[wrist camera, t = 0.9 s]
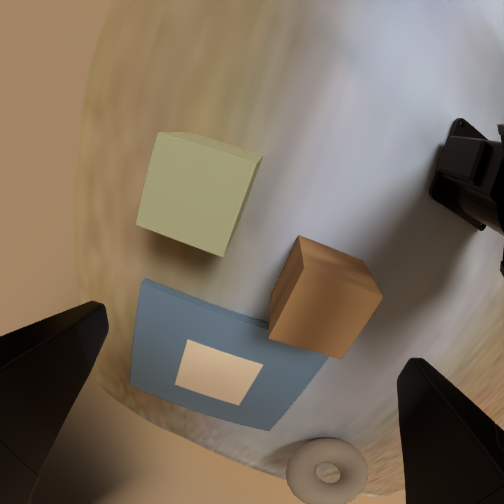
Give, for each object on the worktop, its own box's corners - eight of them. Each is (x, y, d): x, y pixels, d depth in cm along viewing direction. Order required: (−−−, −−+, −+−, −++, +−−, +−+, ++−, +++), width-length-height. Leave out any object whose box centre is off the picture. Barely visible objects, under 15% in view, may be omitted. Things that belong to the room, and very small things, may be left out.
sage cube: (262, 156, 17) (256, 163, 12) (236, 226, 19) (223, 257, 14) (189, 132, 17) (158, 132, 12) (168, 202, 19) (135, 224, 14)
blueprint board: (332, 343, 22) (333, 350, 21) (269, 425, 28) (268, 431, 27) (145, 278, 21) (140, 283, 20) (132, 380, 27) (129, 386, 26)
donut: (367, 432, 28) (378, 499, 18) (356, 445, 29) (363, 507, 20) (290, 430, 28) (289, 505, 19) (283, 442, 29) (280, 511, 20)
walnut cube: (362, 259, 19) (383, 296, 15) (331, 314, 21) (341, 359, 17) (298, 234, 19) (304, 267, 14) (271, 294, 21) (268, 338, 16)
